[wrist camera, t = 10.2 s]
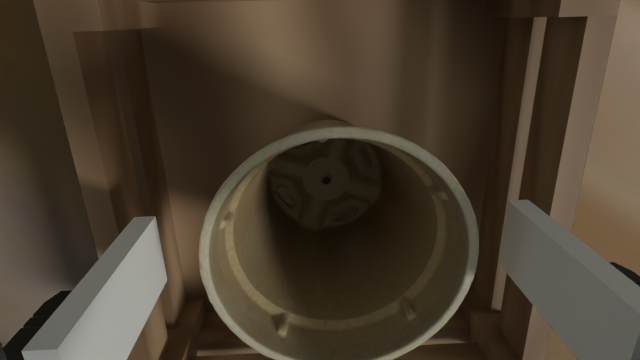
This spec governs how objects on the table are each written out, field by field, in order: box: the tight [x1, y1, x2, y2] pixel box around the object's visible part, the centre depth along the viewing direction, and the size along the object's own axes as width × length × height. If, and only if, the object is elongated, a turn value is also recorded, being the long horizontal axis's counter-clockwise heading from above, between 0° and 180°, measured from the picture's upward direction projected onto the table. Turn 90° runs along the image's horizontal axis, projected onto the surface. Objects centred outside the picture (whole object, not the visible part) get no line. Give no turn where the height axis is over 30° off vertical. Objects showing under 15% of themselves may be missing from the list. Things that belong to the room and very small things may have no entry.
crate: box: [33, 0, 620, 360], centre depth 20 cm, size 19×19×7 cm
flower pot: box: [199, 120, 479, 360], centre depth 18 cm, size 9×9×9 cm
